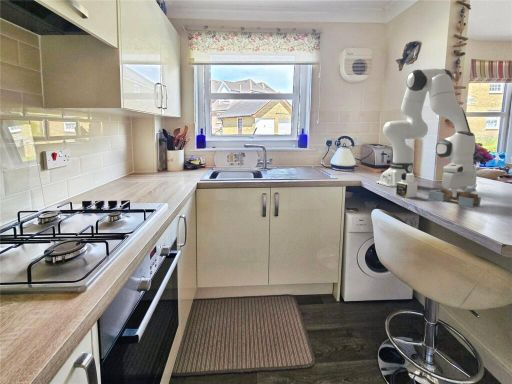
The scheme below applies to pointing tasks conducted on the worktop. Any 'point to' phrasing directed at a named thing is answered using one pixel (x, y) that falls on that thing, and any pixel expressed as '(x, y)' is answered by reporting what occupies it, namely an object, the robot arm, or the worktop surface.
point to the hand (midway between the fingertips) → (457, 196)
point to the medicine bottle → (407, 186)
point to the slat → (449, 195)
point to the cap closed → (436, 195)
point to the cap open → (468, 201)
